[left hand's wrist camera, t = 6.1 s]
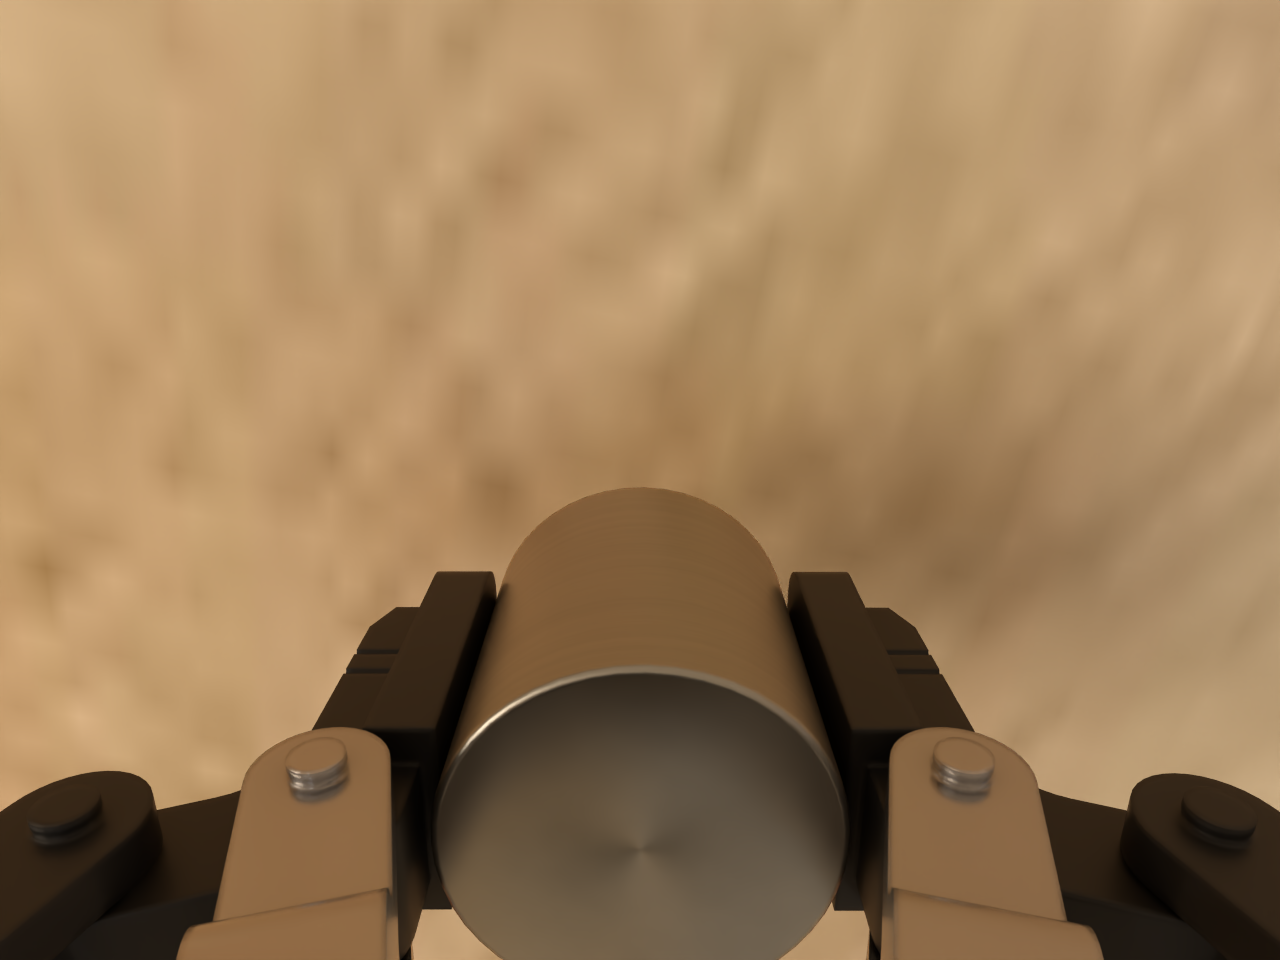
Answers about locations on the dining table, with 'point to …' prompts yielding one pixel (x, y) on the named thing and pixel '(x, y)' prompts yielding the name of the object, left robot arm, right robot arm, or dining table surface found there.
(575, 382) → the dining table surface
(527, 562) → the canister
